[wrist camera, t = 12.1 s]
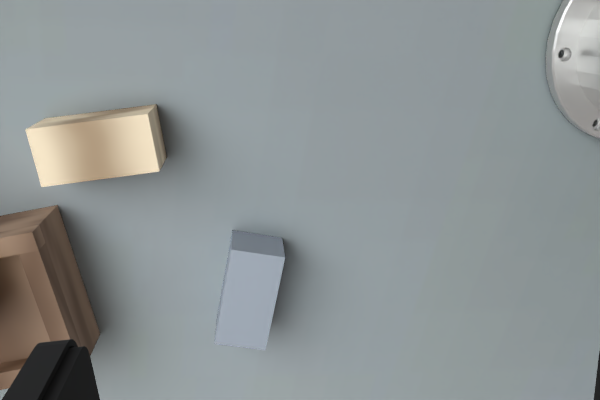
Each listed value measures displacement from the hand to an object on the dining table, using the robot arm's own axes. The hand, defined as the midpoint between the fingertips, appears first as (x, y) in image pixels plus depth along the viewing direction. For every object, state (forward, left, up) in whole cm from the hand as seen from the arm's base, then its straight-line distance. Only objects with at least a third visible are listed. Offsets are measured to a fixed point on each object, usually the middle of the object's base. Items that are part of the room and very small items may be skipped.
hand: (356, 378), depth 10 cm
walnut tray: (+20, +11, -29) cm, 36 cm away
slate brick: (+3, +12, -28) cm, 31 cm away
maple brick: (+11, +1, -28) cm, 31 cm away
